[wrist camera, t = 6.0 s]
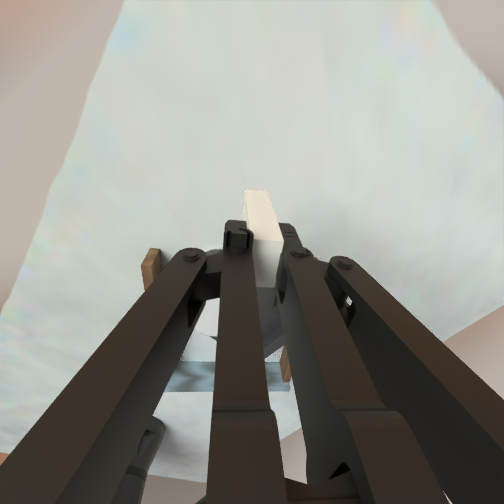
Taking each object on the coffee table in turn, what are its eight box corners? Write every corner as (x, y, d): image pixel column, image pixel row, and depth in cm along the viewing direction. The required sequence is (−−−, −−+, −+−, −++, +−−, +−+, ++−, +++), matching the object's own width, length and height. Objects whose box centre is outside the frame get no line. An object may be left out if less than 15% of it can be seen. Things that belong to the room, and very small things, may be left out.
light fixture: (225, 224, 33) (217, 271, 24) (293, 277, 38) (308, 333, 28) (178, 274, 37) (156, 331, 28) (245, 316, 42) (245, 378, 32)
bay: (164, 365, 47) (158, 391, 43) (150, 248, 34) (138, 270, 29) (284, 366, 50) (289, 391, 46) (316, 257, 36) (327, 279, 32)
